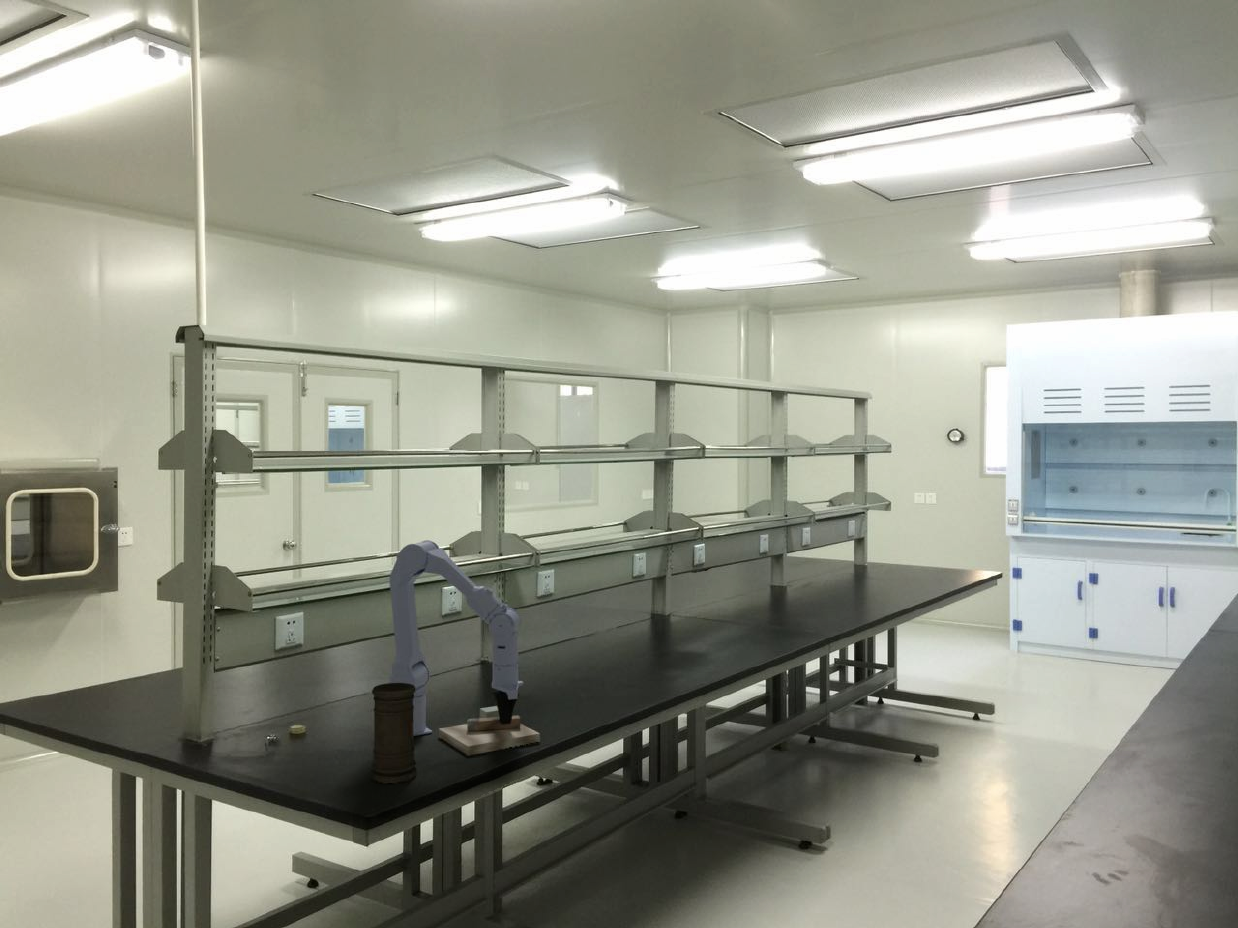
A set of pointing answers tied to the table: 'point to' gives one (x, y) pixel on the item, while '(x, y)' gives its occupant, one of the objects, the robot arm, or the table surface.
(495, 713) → the block
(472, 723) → the stool leg
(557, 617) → the table surface
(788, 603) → the table surface
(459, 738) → the stool seat
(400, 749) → the container
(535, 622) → the table surface
